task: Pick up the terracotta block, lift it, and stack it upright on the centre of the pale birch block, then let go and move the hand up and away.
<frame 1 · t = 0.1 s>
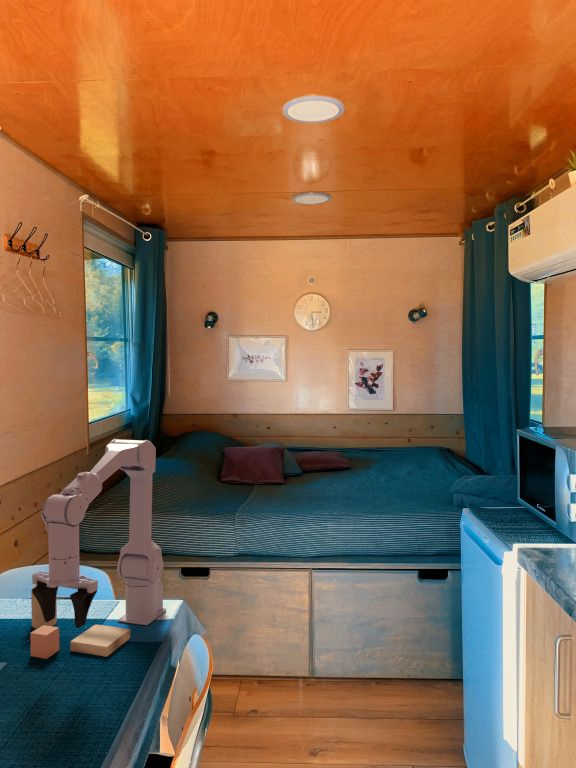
hand: (65, 622, 120), 10 cm above the table, fingers open, 7 cm apart
terracotta block: (45, 653, 128), on the table
birch block: (101, 646, 132), on the table
candle: (44, 624, 143), on the table
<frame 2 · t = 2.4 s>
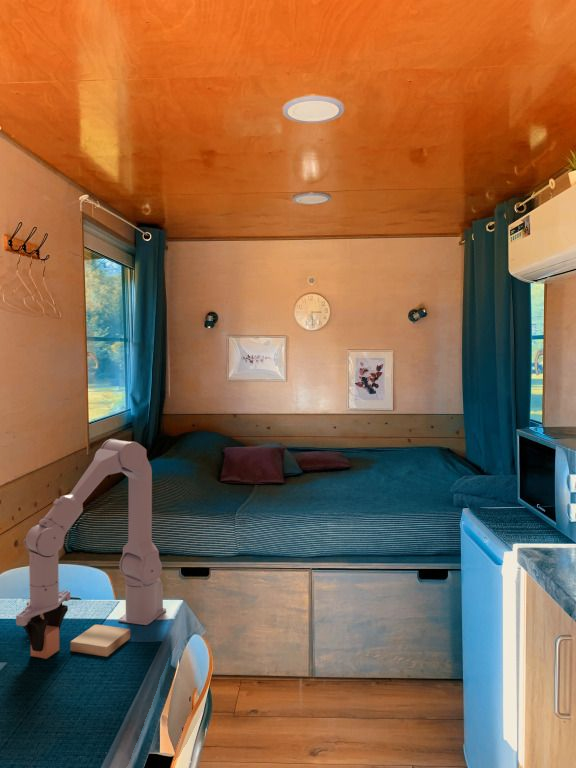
hand: (45, 645, 128), 2 cm above the table, fingers closed on terracotta block, 4 cm apart
terracotta block: (45, 652, 128), on the table, touching gripper
everything else where it was.
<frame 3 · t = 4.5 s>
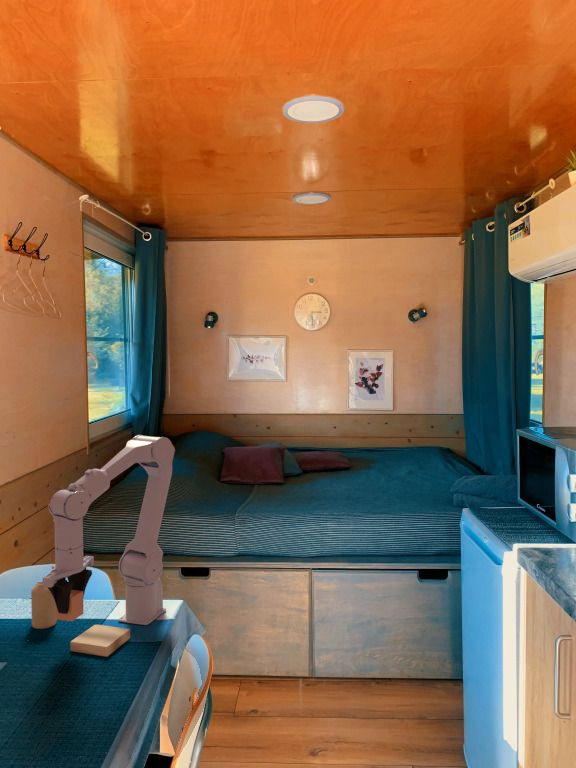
hand: (70, 608, 130), 9 cm above the table, fingers closed on terracotta block, 4 cm apart
terracotta block: (69, 616, 130), point 7 cm above the table, touching gripper
everything else where it was.
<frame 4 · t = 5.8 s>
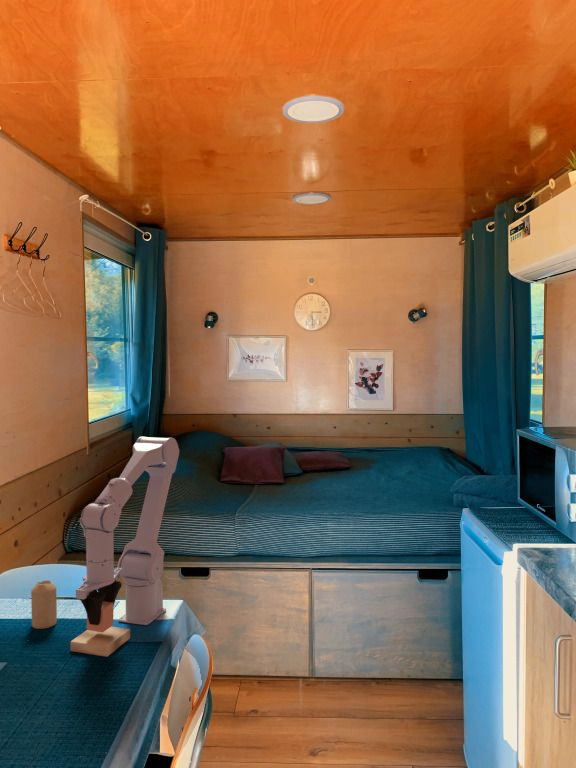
hand: (100, 619, 132), 5 cm above the table, fingers closed on terracotta block, 4 cm apart
terracotta block: (100, 627, 132), point 4 cm above the table, touching gripper
everything else where it was.
when the fingers open (5 cm above the table, at t = 6.7 s): terracotta block drops 2 cm, resting on birch block.
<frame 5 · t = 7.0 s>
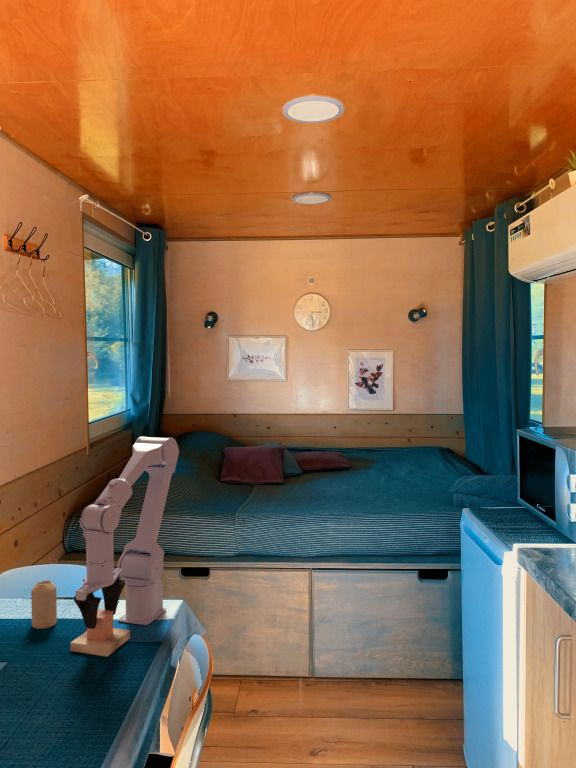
hand: (100, 620, 132), 5 cm above the table, fingers open, 7 cm apart
terracotta block: (100, 636, 132), point 2 cm above the table, touching birch block
birch block: (101, 647, 132), on the table, touching terracotta block
everything else where it was.
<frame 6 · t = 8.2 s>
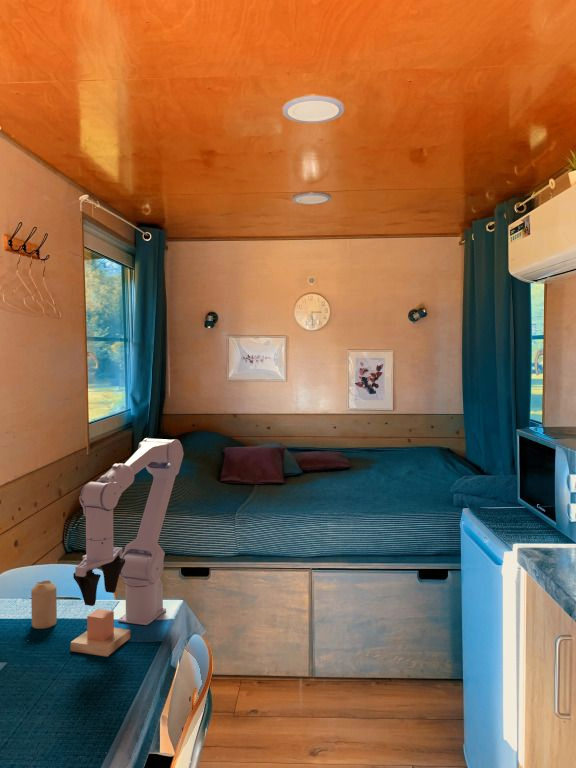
hand: (100, 598, 132), 10 cm above the table, fingers open, 7 cm apart
nothing on the table moved.
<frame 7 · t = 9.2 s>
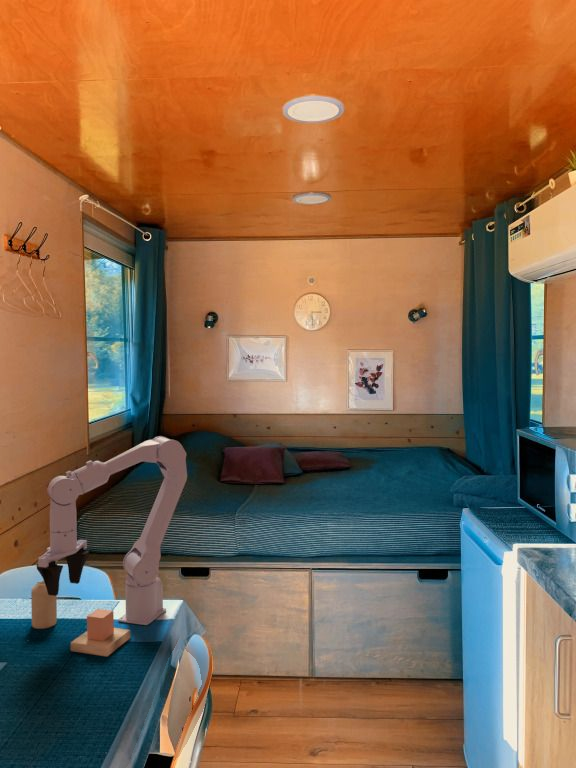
hand: (64, 588, 137), 10 cm above the table, fingers open, 7 cm apart
terracotta block: (100, 635, 132), point 2 cm above the table
birch block: (101, 647, 132), on the table
everything else where it was.
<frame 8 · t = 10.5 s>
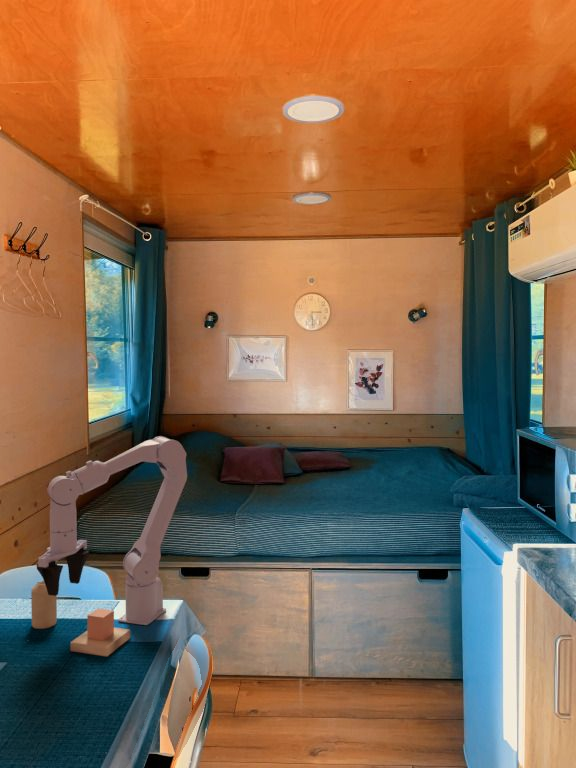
hand: (64, 588, 137), 10 cm above the table, fingers open, 7 cm apart
nothing on the table moved.
at the end: terracotta block 0.0 cm off-centre on the birch block, point 2.5 cm above the birch block's base; terracotta block tilted 1°; the gripper is holding nothing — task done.
